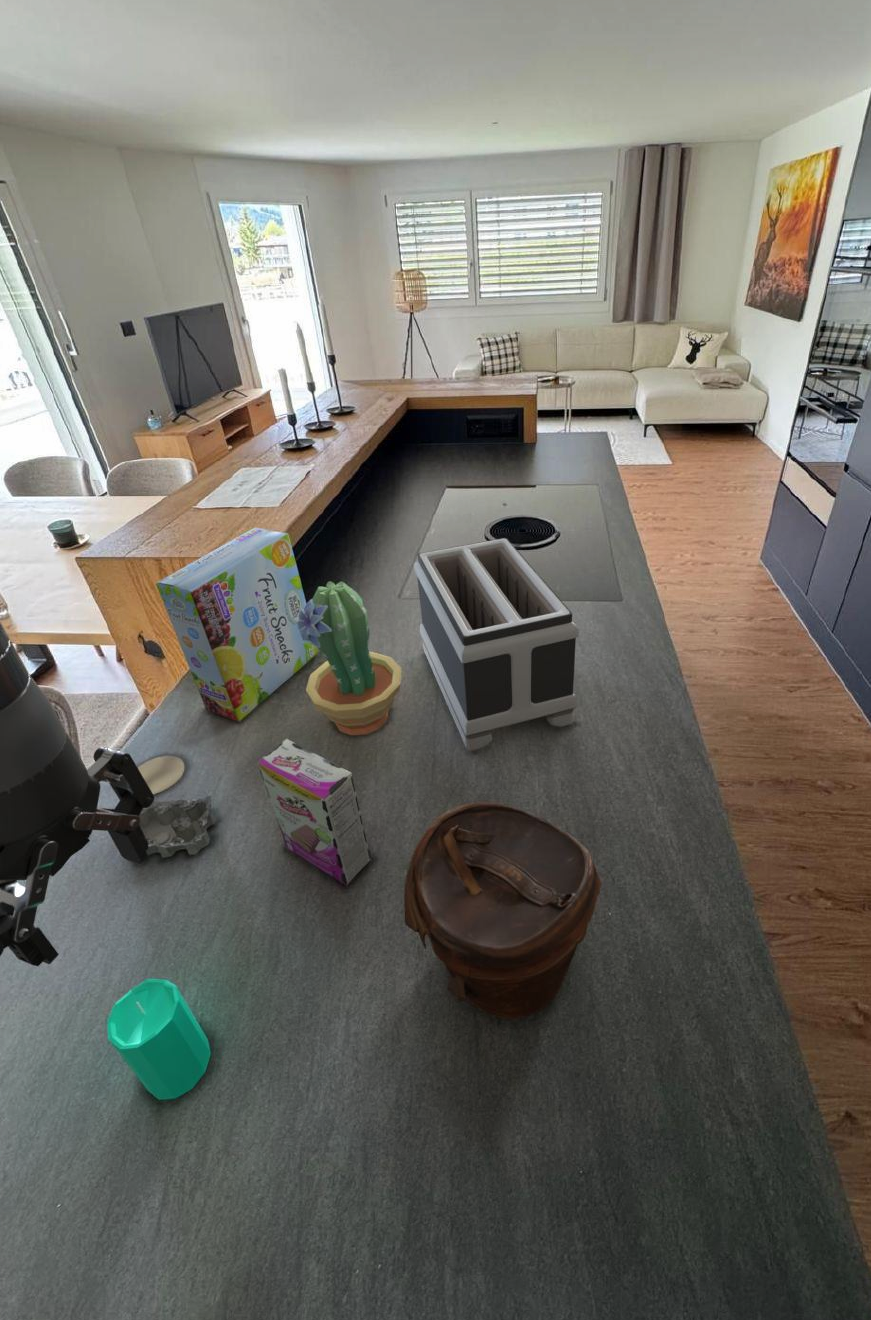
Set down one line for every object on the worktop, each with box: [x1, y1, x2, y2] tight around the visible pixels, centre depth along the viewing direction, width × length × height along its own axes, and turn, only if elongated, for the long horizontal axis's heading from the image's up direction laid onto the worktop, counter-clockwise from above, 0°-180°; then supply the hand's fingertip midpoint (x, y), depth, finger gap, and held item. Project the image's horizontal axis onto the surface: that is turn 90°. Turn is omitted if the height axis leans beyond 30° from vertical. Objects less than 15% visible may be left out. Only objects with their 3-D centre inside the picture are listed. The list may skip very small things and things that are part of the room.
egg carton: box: [139, 795, 217, 859], centre depth 83 cm, size 11×8×4 cm
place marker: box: [137, 755, 185, 796], centre depth 94 cm, size 8×8×1 cm
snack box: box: [155, 527, 320, 723], centre depth 106 cm, size 22×9×26 cm, turn 154°
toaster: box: [413, 537, 579, 752], centre depth 105 cm, size 18×34×21 cm, turn 18°
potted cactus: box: [297, 581, 403, 736], centre depth 97 cm, size 15×15×25 cm
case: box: [403, 801, 602, 1019], centre depth 64 cm, size 18×20×18 cm
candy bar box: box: [257, 738, 372, 886], centre depth 76 cm, size 11×5×16 cm, turn 58°
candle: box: [106, 978, 212, 1101], centre depth 58 cm, size 6×6×12 cm
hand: (93, 904), depth 48 cm, fingers open, 8 cm apart
